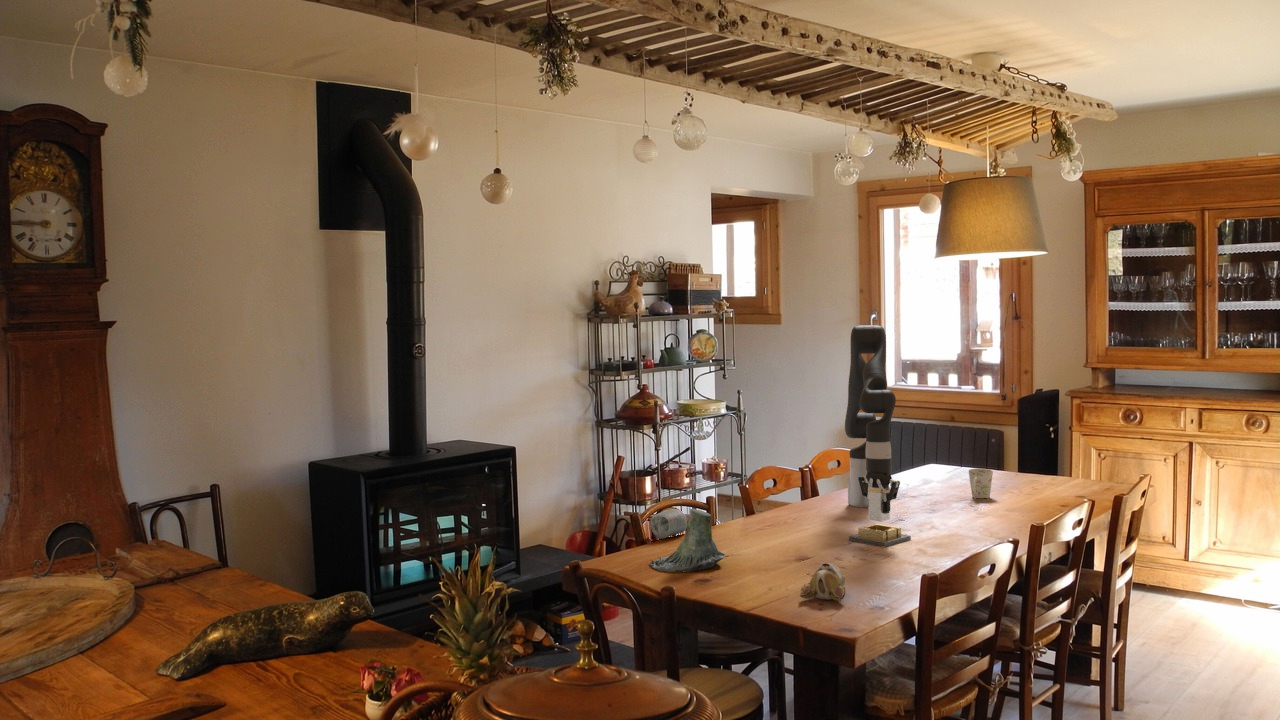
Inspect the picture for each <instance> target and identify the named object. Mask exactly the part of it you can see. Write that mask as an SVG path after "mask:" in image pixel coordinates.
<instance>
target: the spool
mask: <svg viewBox="0 0 1280 720" xmlns="http://www.w3.org/2000/svg"><path fill="white" fill-rule="evenodd" d="M687 524H688V520H687V517H686V515H685V513H684V512H683V511H681V510H680V509H676V508H672V509H671V508H670V509H666V510H663V511H660V512H659V513H657V514H654V515H652V517H651V518H650V521H649V526H650V530H651V531H652V533H653V535H654V536H655V537H656V538H658V539H661V540H664V539H666V538H668V537H671V536H672V537H673V536H676V535H679V534H682V533H684V532H686V531H687V527H686V525H687Z"/></svg>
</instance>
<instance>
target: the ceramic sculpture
mask: <svg viewBox="0 0 1280 720" xmlns="http://www.w3.org/2000/svg"><path fill="white" fill-rule="evenodd" d="M842 572H843V571H841V569H840V568H839V567H838V565H836V564H835V563H834V562H833V561H832V560H831V561H829V562H828V563H822V564H821V565H820V566H818V569H816V570H815V571H814V573H813V574H812V576H811V579H810V581H809V582H808V583H805V584H803V586H802V587H801V589H800V595H799V596H800V597H801V598H803V599H812V598H813V597H814V596H815V597H816V598H818V600H833V601H835V602H840V601H842V600H843V599H844V598H845V595H846V587H844V585H845V581H846V579H845V576H844V575H843V573H842Z"/></svg>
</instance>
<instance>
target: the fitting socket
mask: <svg viewBox="0 0 1280 720" xmlns="http://www.w3.org/2000/svg"><path fill="white" fill-rule="evenodd" d="M857 529H858V532H857V533H856V534H852V535H849V536H848V541H851V542H856V543H862V544H867V545H871V546H877V547H880V548H881V547H883V548H887V547H890V546H893V545H897V544H900V543H904V542H908V541H911V535H908V534H902V527H899V526H894V525H893V526H892V525H889V524H888V525H887V524H883V523H882V524H881V523H877V522H875V523H872V524H869V525H864V526H862V527H861V526H859V527H858V528H857Z"/></svg>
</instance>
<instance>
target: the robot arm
mask: <svg viewBox="0 0 1280 720" xmlns="http://www.w3.org/2000/svg"><path fill="white" fill-rule="evenodd" d="M886 336H887V335H886V330H885V328H884V327H883V326H881V325H875V324H874V325H873V324H872V325H865V324H864V325H862V324H861V325H855V326H854V327H852V329H851V333H850V365H849V375H848V387H847V389H848V390H847V407H846V413H845V422H844V431H845V435H846V437H848V438H849V439H865V441H864V443H862V444H859V445H858V446H854V447H852V448H851V449H850V450H849V477H848V478H847V504H848V505H849V504H850V506H851V507H855V508H868V509H869V501H868V487H878V488H882V494H883V500H884V501H883V513H884V514H887V513H889V512H891V502H892V501H893V500H896V499H897V497H898V492H899V489H900V484H901V481H900V480H896V479H893V477H892V475H891V473H892V445H891V422H892V418H893V414H894V411H895V407H896V403H897V398H896V395H895V393H894V392H893V391H892V390H890V389H887V388H888V380H887V373H886V360H887V359H886V358H887V337H886ZM862 354H866V355H867V354H869V355H870V354H871V355H872V354H873V356H872V357H871V358H870V359H869V360H868V361H866V360H865V359H864V357H863V355H862ZM861 410H862V412H860V411H861ZM876 414H883V415H882V416H881V417H880V419H877V418H876V417H877V416H876ZM886 488H888V489H887V490H886V491H885V490H884V489H886ZM886 494H887V496H886Z"/></svg>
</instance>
